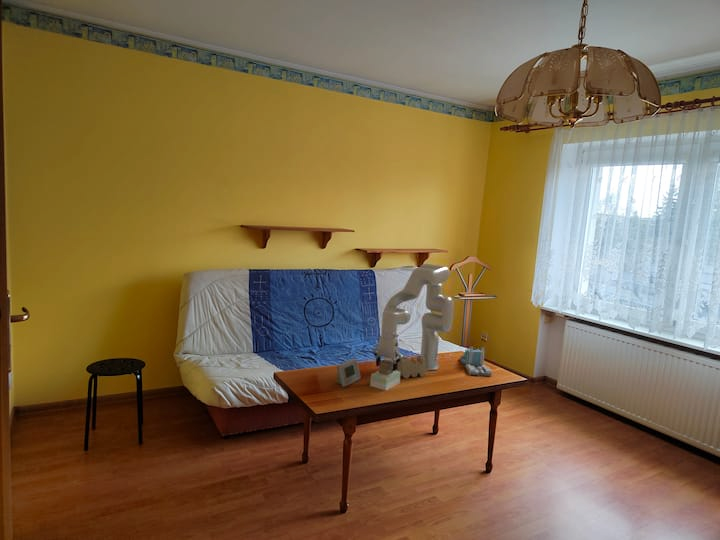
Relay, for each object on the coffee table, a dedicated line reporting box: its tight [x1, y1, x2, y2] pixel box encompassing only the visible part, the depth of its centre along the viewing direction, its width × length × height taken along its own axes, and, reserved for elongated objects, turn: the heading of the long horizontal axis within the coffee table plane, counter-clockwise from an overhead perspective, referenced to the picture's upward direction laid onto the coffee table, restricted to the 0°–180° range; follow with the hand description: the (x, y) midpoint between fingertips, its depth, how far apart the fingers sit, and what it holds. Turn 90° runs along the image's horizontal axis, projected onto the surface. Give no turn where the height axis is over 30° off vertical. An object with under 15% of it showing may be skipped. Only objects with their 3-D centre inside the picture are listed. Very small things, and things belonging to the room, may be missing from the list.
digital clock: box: [336, 358, 362, 388], centre depth 235 cm, size 16×9×11 cm, turn 137°
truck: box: [459, 345, 493, 377], centre depth 270 cm, size 12×29×15 cm, turn 0°
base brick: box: [369, 370, 401, 391], centre depth 235 cm, size 14×9×6 cm, turn 146°
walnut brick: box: [378, 358, 394, 375], centre depth 234 cm, size 5×5×6 cm
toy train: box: [397, 355, 429, 379], centre depth 250 cm, size 6×17×10 cm, turn 113°
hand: (386, 368), depth 234 cm, fingers open, 9 cm apart
